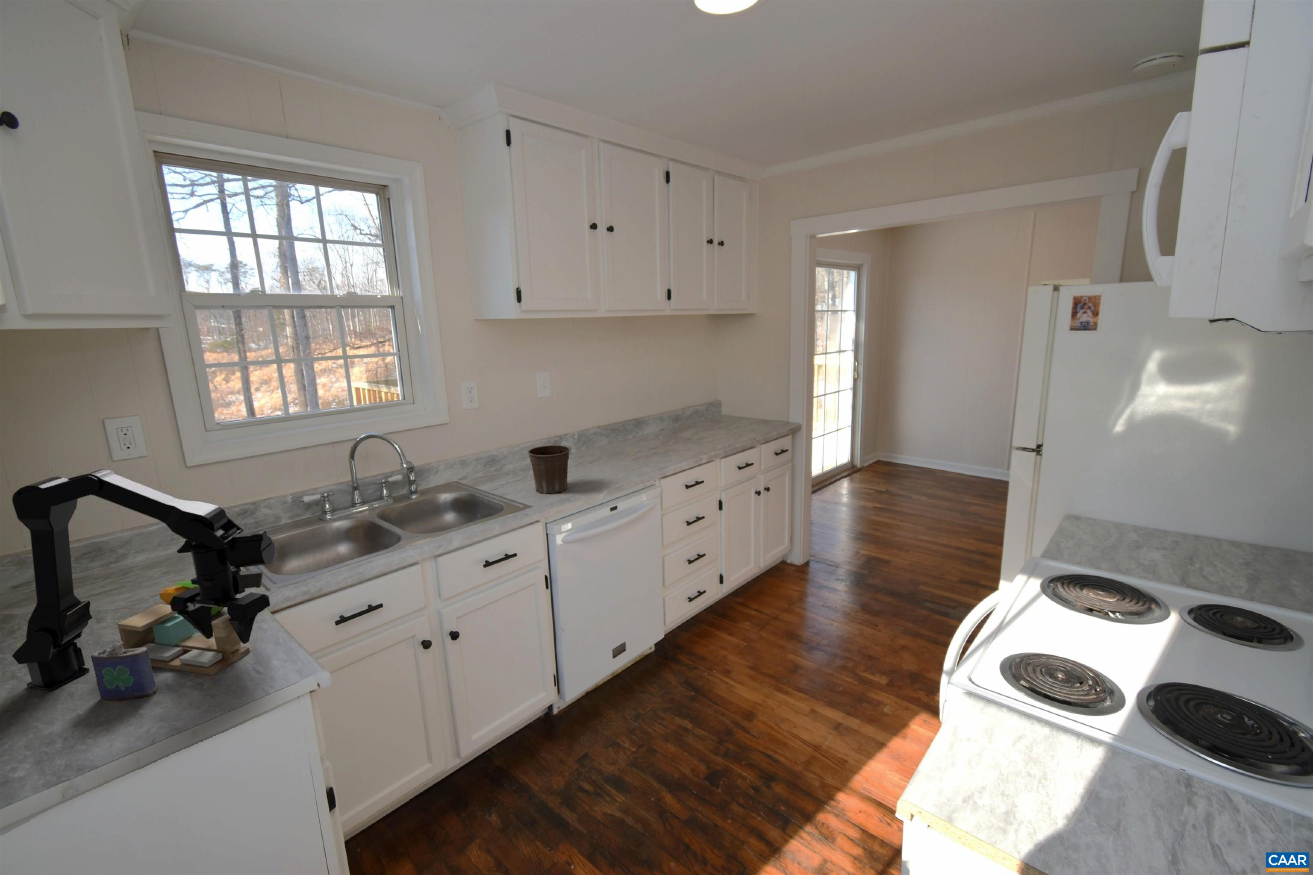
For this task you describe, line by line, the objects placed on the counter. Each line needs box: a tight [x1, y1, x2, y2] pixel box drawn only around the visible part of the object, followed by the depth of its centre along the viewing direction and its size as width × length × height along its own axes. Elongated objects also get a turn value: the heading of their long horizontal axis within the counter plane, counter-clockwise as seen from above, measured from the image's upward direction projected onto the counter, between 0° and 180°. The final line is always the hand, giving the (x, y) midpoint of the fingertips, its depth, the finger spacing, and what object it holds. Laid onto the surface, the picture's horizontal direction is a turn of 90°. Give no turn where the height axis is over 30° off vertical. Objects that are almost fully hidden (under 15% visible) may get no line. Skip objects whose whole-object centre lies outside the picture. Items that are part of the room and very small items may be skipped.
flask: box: [90, 640, 158, 702], centre depth 104 cm, size 9×3×11 cm, turn 95°
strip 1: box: [154, 614, 243, 654], centre depth 118 cm, size 3×19×7 cm, turn 77°
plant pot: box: [527, 444, 571, 495], centre depth 223 cm, size 16×16×16 cm
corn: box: [158, 580, 225, 616], centre depth 135 cm, size 7×8×20 cm
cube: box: [152, 614, 196, 646], centre depth 119 cm, size 4×4×4 cm
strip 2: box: [140, 643, 222, 667], centre depth 115 cm, size 3×19×1 cm, turn 77°
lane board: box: [117, 603, 251, 676], centre depth 116 cm, size 8×22×9 cm, turn 77°
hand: (227, 640), depth 116 cm, fingers open, 9 cm apart
